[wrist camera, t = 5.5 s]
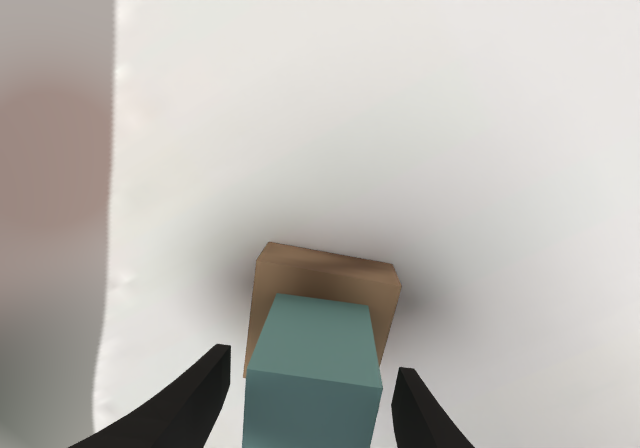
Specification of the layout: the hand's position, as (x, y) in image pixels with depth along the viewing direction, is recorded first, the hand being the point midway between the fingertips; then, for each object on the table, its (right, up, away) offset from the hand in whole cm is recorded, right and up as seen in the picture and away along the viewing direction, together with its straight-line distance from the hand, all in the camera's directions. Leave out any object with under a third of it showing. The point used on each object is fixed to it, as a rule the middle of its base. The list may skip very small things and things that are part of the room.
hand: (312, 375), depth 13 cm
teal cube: (0, +1, +3) cm, 3 cm away
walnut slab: (0, +2, +5) cm, 6 cm away
